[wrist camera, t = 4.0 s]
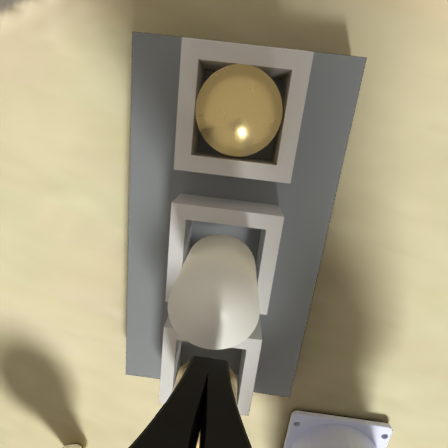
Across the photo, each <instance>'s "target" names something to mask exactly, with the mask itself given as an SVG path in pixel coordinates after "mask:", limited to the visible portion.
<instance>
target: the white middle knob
mask: <svg viewBox="0 0 448 448" xmlns="http://www.w3.org/2000/svg"><path fill="white" fill-rule="evenodd" d="M259 313H260V310H259V298H258V287H257V276H256V265H255V259H254V256H253V254H252V252H251V250H250V249H249V248H248V246H247V245H246V244H245V243H243V242H242V241H241V240H239V239H237V238H235V237H233V236H230V235H225V234H214V235H210V236H207V237H204V238H202V239H201V240H199V241H198V242H197V243H195V244H194V246H193V247H192V248H191V249H190V251H189V253H188V255H187V258H186V260H185V262H184V264H183V266H182V269H181V271H180V273H179V275H178V278H177V280H176V282H175V284H174V286H173V289H172V291H171V293H170V296H169V299H168V316H169V319H170V322H171V324H172V326H173V327H174V329H175V330H176V332H177V333H178V334H179V335H180V336H181V337H182V338H183V339H185V340H186V341H188V342H189V343H191V344H193V345H195V346H198V347H201V348H205V349H212V350H220V349H227V348H231V347H233V346H236V345H238V344H240V343H242V342H243V341H244V340H246V339H247V338H248V337H249V336H250V335H251V334H252V332H253V331H254V329H255V328H256V326H257V323H258V320H259Z"/></svg>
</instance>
